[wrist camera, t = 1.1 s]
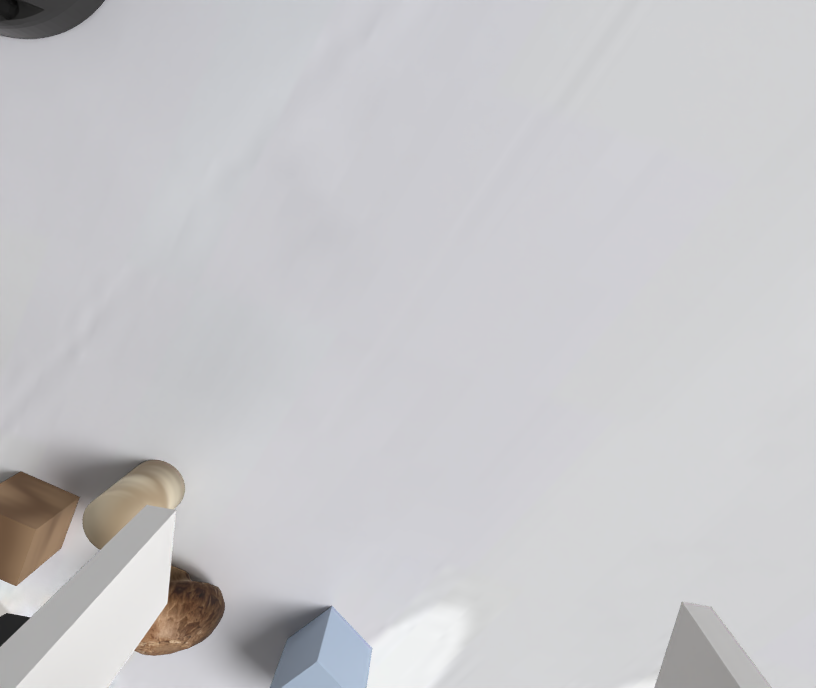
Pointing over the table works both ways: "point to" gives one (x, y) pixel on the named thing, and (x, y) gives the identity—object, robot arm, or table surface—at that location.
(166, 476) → the birch cylinder
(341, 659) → the slate block
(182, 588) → the mushroom
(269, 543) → the table surface
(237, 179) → the table surface
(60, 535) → the walnut block
